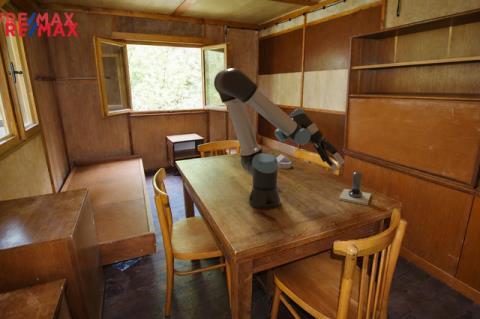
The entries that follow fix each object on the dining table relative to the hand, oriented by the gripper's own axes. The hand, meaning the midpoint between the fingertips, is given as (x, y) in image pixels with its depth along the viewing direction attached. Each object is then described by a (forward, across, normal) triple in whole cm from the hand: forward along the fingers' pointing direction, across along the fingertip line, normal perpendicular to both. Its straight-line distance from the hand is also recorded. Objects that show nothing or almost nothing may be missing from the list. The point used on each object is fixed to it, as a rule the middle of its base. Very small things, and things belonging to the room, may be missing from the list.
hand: (340, 166), depth 136 cm
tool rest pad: (+17, +1, +4) cm, 17 cm away
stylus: (+16, +1, +4) cm, 16 cm away
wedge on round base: (-20, +32, +42) cm, 56 cm away
